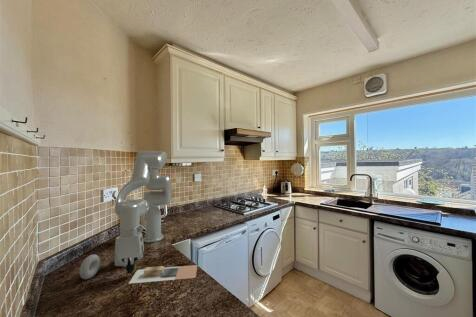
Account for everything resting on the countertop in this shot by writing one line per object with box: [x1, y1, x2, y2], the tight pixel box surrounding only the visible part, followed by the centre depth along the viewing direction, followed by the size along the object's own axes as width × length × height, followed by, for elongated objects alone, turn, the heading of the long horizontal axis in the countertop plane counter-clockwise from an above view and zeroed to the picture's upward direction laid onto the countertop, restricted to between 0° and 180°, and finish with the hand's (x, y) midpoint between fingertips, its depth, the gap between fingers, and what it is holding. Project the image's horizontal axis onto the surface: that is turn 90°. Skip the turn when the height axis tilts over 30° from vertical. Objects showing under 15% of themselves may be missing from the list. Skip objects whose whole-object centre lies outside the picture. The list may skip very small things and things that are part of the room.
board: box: [128, 264, 198, 285], centre depth 88 cm, size 10×28×1 cm, turn 97°
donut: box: [79, 254, 101, 280], centre depth 88 cm, size 10×4×10 cm, turn 178°
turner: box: [144, 265, 178, 278], centre depth 88 cm, size 14×6×3 cm, turn 97°
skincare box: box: [114, 236, 131, 268], centre depth 97 cm, size 8×6×15 cm
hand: (130, 272), depth 86 cm, fingers closed
